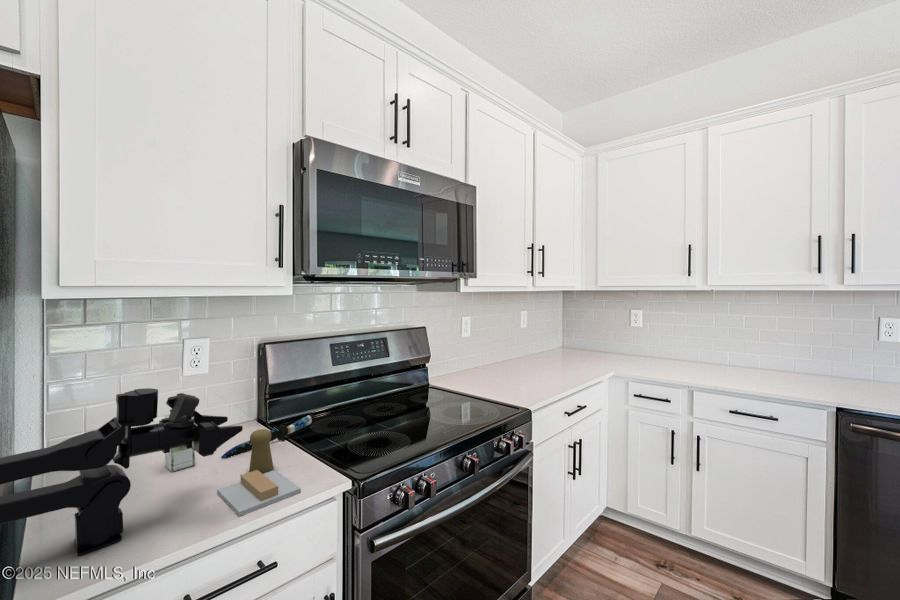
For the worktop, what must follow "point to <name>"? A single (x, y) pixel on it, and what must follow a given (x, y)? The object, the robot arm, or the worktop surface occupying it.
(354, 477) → the worktop surface
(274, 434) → the knife
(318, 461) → the worktop surface
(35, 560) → the worktop surface
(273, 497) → the ridge board
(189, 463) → the syrup box
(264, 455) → the olive pepper mill
